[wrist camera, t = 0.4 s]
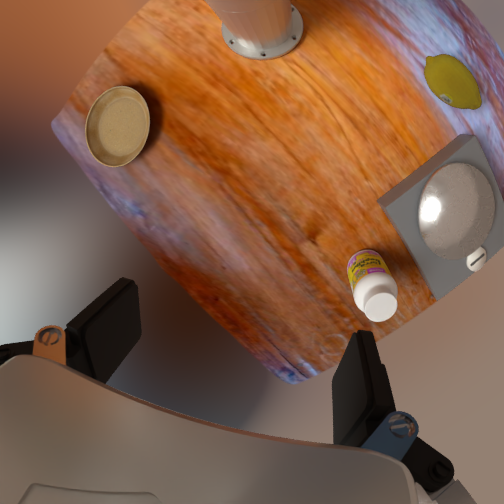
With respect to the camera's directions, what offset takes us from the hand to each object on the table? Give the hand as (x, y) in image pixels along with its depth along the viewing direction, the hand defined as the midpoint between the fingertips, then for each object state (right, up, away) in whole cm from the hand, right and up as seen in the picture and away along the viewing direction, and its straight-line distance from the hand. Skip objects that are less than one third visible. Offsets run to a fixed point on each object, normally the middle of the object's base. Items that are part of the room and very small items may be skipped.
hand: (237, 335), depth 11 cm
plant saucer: (-23, +26, +32) cm, 47 cm away
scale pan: (+32, +9, +22) cm, 40 cm away
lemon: (+31, +30, +20) cm, 48 cm away
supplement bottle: (+20, +1, +35) cm, 40 cm away
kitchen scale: (+34, +10, +28) cm, 45 cm away
